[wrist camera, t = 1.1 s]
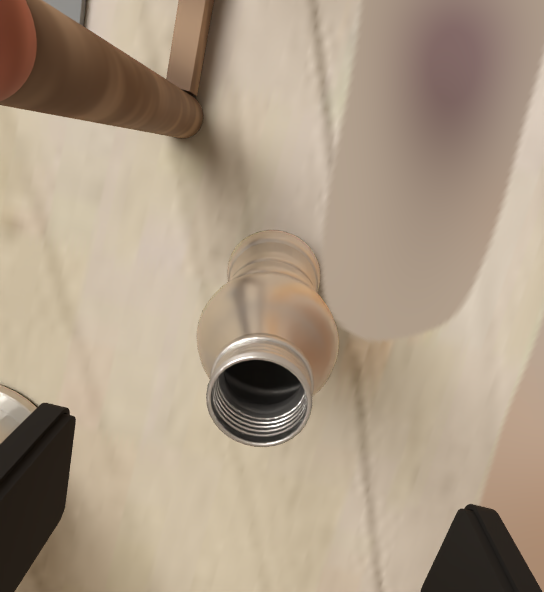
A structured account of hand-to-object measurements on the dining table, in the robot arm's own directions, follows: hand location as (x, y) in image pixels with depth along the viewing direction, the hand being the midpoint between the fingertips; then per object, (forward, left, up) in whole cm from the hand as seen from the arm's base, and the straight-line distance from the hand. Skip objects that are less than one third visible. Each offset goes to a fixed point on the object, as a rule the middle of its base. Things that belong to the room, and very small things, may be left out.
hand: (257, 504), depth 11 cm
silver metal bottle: (0, 0, -25) cm, 25 cm away
